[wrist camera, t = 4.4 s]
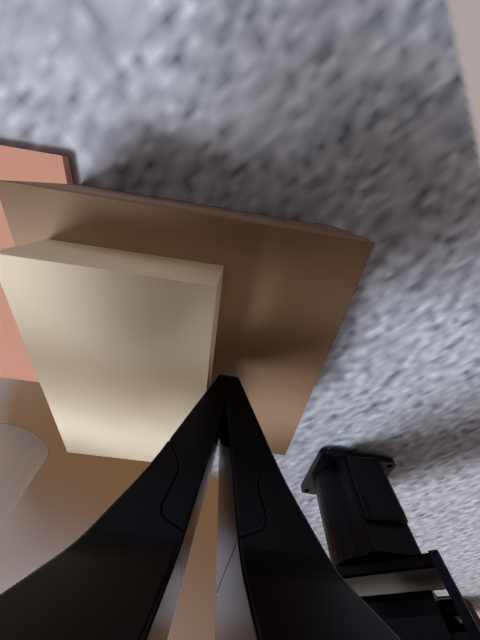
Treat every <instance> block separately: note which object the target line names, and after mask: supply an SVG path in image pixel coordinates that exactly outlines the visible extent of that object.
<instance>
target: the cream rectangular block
mask: <svg viewBox="0 0 480 640" xmlns="http://www.w3.org/2000/svg"><path fill="white" fill-rule="evenodd" d="M223 269H224V266H222V265H215V264H209V263H202V262H196V261H189V260H182V259H176V258H169V257H163V256H156V255H150V254H143V253H136V252H130V251H123V250H117V249H110V248H103V247H97V246H90V245H84V244H77V243H71V242H64V241H57V240H51V239H46V240H41V241H37V242H33V243H28V244H24V245H19V246H15V247H10V248H6V249H1V250H0V283H1V286H2V288H3V291H4V293H5V296H6V298H7V301H8V303H9V306H10V308H11V311H12V313H13V316H14V319H15V321H16V324H17V326H18V329H19V331H20V334H21V336H22V339H23V341H24V344H25V346H26V349H27V351H28V354H29V356H30V359H31V362H32V364H33V367H34V369H35V372H36V374H37V377H38V379H39V382H40V384H41V387H42V389H43V392H44V394H45V397H46V399H47V402H48V404H49V407H50V410H51V412H52V415H53V417H54V420H55V422H56V425H57V427H58V430H59V432H60V435H61V437H62V440H63V442H64V445H65V447H66V450H67V452H72V453H81V454H89V455H97V456H107V457H114V458H123V459H131V460H141V461H148V462H152V461H153V459H154V458H155V457H156V456H157V454H158V453H159V452H160V451H161V449H162V448H163V447H164V446H165V444H166V443H167V442H168V441H170V438H171V437H172V435H173V434H174V433H175V431H176V430H177V429H178V427H179V426H180V425H181V423H182V422H183V421H184V420H185V418H186V417H187V416H188V414H189V413H190V412H191V410H192V409H193V408H194V406H195V405H196V404H197V403H198V401H199V400H200V399H201V397H202V396H203V395H204V393H205V392H206V391H207V389H208V388H209V387H210V385H211V379H212V370H213V360H214V351H215V342H216V333H217V324H218V315H219V306H220V297H221V288H222V278H223Z"/></svg>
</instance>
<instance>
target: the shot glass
mask: <svg viewBox="0 0 480 640" xmlns="http://www.w3.org/2000/svg"><path fill="white" fill-rule="evenodd" d="M48 452H49V449H48V447H47V445H46V443H45V442H44V441H43V440H42V439H40V437H38V436H37V435H36V434H34V433H32V432H30V431H28V430H26V429H25V428H21V427H18V426H15V425H12V424H4V423H0V527H1V526H2V524H3V523H4V521H5V520H6V518H7V517H8V515H9V514H10V512H11V510H12V509H13V507H14V506H15V505H16V503H17V501H18V500H19V498H20V497H21V495H22V494H23V492H24V491H25V489H26V488H27V486H28V485H29V483H30V482H31V480H32V479H33V477H34V476H35V474H36V473H37V471H38V470H39V468H40V467H41V465H42V463H43V462H44V461H45V459H46V458H47V456H48Z"/></svg>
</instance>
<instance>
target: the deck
mask: <svg viewBox="0 0 480 640" xmlns="http://www.w3.org/2000/svg"><path fill="white" fill-rule="evenodd" d="M0 201H1V204H2V207H3V210H4V213H5V216H6V219H7V222H8V225H9V228H10V231H11V234H12V238H13V241H14V244H15V246H19V245H24V244H28V243H33V242H37V241H41V240H46V239H51V240H57V241H64V242H71V243H77V244H84V245H90V246H97V247H103V248H110V249H117V250H123V251H130V252H136V253H143V254H150V255H156V256H163V257H169V258H176V259H182V260H189V261H196V262H202V263H209V264H215V265H222V266H224V269H223V278H222V288H221V297H220V306H219V315H218V324H217V333H216V342H215V351H214V360H213V370H212V379H211V384H212V383H213V382H214V380H215V379H216V378H217V376H218V375H220V374H222V375H228V376H235V377H238V378H239V379H240V382H241V384H242V386H243V388H244V391H245V393H246V395H247V397H248V400H249V402H250V404H251V406H252V409H253V411H254V413H255V415H256V418H257V420H258V422H259V424H260V427H261V429H262V431H263V433H264V436H265V438H266V440H267V442H268V445H269V447H270V449H271V451H272V453H273V454H281V455H285V454H286V452H287V449H288V447H289V445H290V442H291V440H292V437H293V435H294V433H295V430H296V428H297V426H298V423H299V421H300V419H301V416H302V414H303V412H304V409H305V407H306V404H307V402H308V400H309V397H310V395H311V393H312V390H313V388H314V386H315V383H316V381H317V379H318V376H319V374H320V372H321V369H322V367H323V364H324V362H325V360H326V357H327V355H328V353H329V350H330V348H331V346H332V343H333V341H334V339H335V336H336V334H337V331H338V329H339V327H340V324H341V322H342V320H343V317H344V315H345V313H346V310H347V308H348V306H349V303H350V301H351V299H352V296H353V294H354V291H355V289H356V287H357V284H358V282H359V280H360V277H361V275H362V273H363V270H364V268H365V266H366V263H367V261H368V258H369V256H370V254H371V251H372V249H373V247H374V244H375V242H372V241H370V240H367V239H364V238H362V237H359V236H357V235H354V234H352V233H349V232H346V231H344V230H341V229H339V228H336V227H332V226H326V225H320V224H314V223H308V222H302V221H296V220H290V219H284V218H278V217H272V216H266V215H260V214H254V213H248V212H242V211H236V210H230V209H224V208H218V207H212V206H206V205H200V204H194V203H188V202H182V201H176V200H170V199H164V198H158V197H152V196H146V195H140V194H134V193H128V192H122V191H116V190H110V189H104V188H98V187H92V186H86V185H80V184H62V183H44V182H26V181H8V180H0ZM218 447H219V442H218Z"/></svg>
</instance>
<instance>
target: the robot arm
mask: <svg viewBox="0 0 480 640" xmlns="http://www.w3.org/2000/svg"><path fill="white" fill-rule="evenodd" d="M218 442H219V476H218V522H217V568H216V609H215V640H480V629H479V627H478V626H477V624H476V622H475V620H474V618H473V616H472V614H471V612H470V610H469V608H468V607H467V605H466V603H465V601H464V599H463V597H462V595H461V593H460V591H459V589H458V588H457V586H456V584H455V582H454V580H453V578H452V576H451V574H450V572H449V571H448V569H447V567H446V565H445V563H444V561H443V560H442V558H441V556H440V554H439V552H438V550H431V551H428V552H429V553H425V554H422V553H421V551H420V549H419V547H418V545H417V543H416V541H415V539H414V537H413V534H412V532H411V530H410V528H409V526H408V524H407V522H408V520H407V517H406V515H405V513H404V511H403V509H402V507H401V505H400V503H399V501H398V498H397V496H396V494H395V492H394V490H393V488H392V486H391V484H390V482H389V480H388V478H387V476H388V475H389V474H390V472H391V471H392V470H393V469H394V468H395V467H396V464H395V462H394V460H393V459H392V458H388V457H380V456H372V455H364V454H357V453H349V452H341V451H334V450H321V451H320V452H319V453H318V455H317V457H316V459H315V461H314V462H313V464H312V466H311V468H310V470H309V471H308V473H307V475H306V477H305V479H304V481H303V482H302V484H301V490H302V492H303V493H308V494H316V495H317V500H318V504H319V509H320V514H321V518H322V523H323V527H324V532H325V536H326V541H327V545H328V550H329V554H330V559H331V561H330V559H329V558H328V556H327V554H326V552H325V551H324V549H323V547H322V546H321V544H320V542H319V540H318V539H317V537H316V535H315V533H314V532H313V530H312V528H311V526H310V525H309V523H308V521H307V519H306V518H305V516H304V514H303V512H302V511H301V509H300V507H299V505H298V504H297V502H296V500H295V498H294V496H293V495H292V493H291V491H290V489H289V487H288V485H287V484H286V482H285V479H284V477H283V475H282V473H281V471H280V469H279V467H278V465H277V462H276V460H275V458H274V456H273V455H272V451H271V449H270V447H269V445H268V442H267V440H266V438H265V436H264V433H263V431H262V429H261V427H260V424H259V422H258V420H257V418H256V415H255V413H254V411H253V409H252V406H251V404H250V402H249V400H248V397H247V395H246V393H245V391H244V388H243V386H242V384H241V382H240V379H239V378H238V377H235V376H228V375H222V374H220V375H218V376H217V378H216V379H215V380H214V382H213V383H212V384H211V385H210V387H209V388H208V389H207V391H206V392H205V393H204V395H203V396H202V397H201V399H200V400H199V401H198V403H197V404H196V405H195V406H194V408H193V409H192V410H191V412H190V413H189V414H188V416H187V417H186V418H185V420H184V421H183V422H182V423H181V425H180V426H179V427H178V429H177V430H176V431H175V433H174V434H173V435H172V437H171V438H170V441H168V442H167V443H166V444H165V446H164V447H163V448H162V449H161V451H160V452H159V453H158V454H157V456H156V457H155V458H154V459H153V461H152V462H151V463H150V464H149V466H148V467H147V468H146V469H145V470H144V471H143V472H142V473H141V475H139V477H138V478H137V479H136V480H135V481H134V482H133V483H132V484H131V485H130V486H129V487H128V488H127V489H126V491H125V492H124V493H123V494H122V495H121V496H120V497H119V498H118V499H117V500H116V501H115V502H114V503H113V504H112V505H111V506H110V507H109V508H108V509H107V510H106V512H105V513H104V514H103V515H102V516H101V517H100V518H99V519H98V520H97V521H96V522H95V523H94V524H93V525H92V526H91V527H90V528H89V529H88V530H87V531H86V532H85V533H84V534H83V535H82V536H81V537H80V538H78V539H77V540H76V541H75V542H74V543H73V544H72V545H70V546H69V547H68V548H66V549H65V550H64V551H62V552H61V553H60V554H58V555H57V556H55V557H54V558H53V559H51V560H50V561H48V562H47V563H45V564H44V565H43V566H41V567H40V568H38V569H37V570H35V571H34V572H33V573H31V574H30V575H28V576H27V577H25V578H24V579H22V580H21V581H19V582H18V583H16V584H15V585H13V586H12V587H11V588H9V589H8V590H6V591H5V592H3V593H2V594H0V640H167V638H168V634H169V630H170V626H171V623H172V618H173V615H174V611H175V607H176V603H177V599H178V596H179V590H180V588H181V584H182V580H183V576H184V572H185V569H186V564H187V561H188V557H189V553H190V549H191V546H192V542H193V538H194V534H195V530H196V526H197V522H198V519H199V515H200V511H201V507H202V503H203V499H204V495H205V492H206V488H207V484H208V480H209V476H210V473H211V469H212V465H213V461H214V457H215V453H216V450H217V446H218ZM443 589H447V591H448V593H449V595H450V597H451V598H445V599H438V598H437V596H436V595H435V593H434V591H433V590H443Z"/></svg>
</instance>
